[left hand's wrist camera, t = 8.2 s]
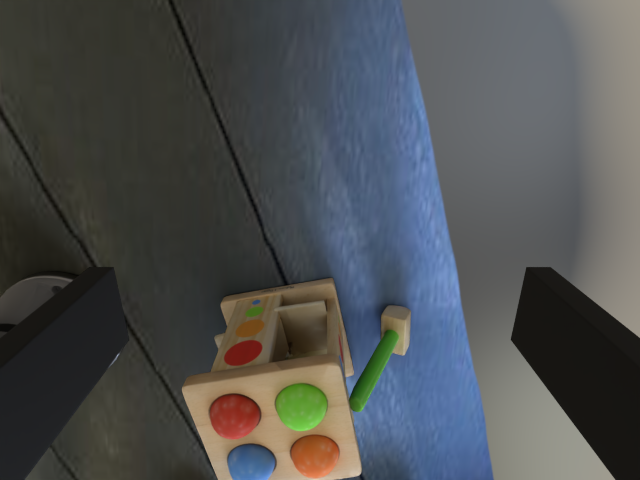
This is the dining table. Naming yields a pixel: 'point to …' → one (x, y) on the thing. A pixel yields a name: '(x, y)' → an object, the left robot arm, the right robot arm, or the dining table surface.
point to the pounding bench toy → (287, 385)
